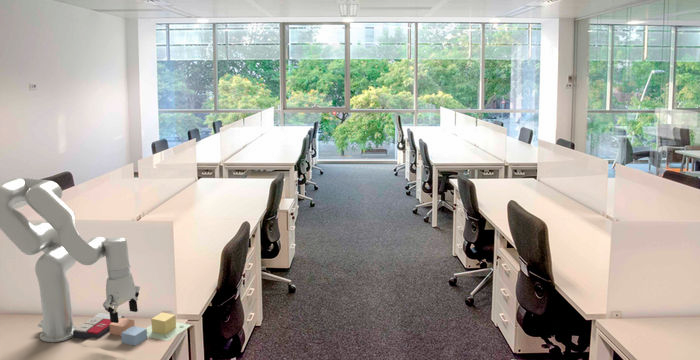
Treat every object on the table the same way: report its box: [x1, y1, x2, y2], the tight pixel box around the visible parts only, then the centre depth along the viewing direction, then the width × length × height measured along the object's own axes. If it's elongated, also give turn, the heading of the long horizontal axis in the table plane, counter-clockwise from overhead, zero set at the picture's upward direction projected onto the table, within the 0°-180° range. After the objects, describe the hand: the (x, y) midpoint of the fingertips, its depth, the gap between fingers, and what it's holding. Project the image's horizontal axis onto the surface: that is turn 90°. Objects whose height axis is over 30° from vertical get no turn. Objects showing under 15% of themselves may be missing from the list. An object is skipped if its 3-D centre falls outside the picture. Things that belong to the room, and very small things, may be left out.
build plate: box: [144, 321, 192, 342], centre depth 220 cm, size 14×14×1 cm
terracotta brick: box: [109, 317, 136, 336], centre depth 219 cm, size 6×6×5 cm
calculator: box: [73, 312, 125, 340], centre depth 222 cm, size 11×4×15 cm
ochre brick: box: [150, 312, 177, 334], centre depth 220 cm, size 6×6×5 cm
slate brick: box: [120, 325, 148, 347], centre depth 212 cm, size 6×6×5 cm
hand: (124, 316), depth 218 cm, fingers open, 9 cm apart
